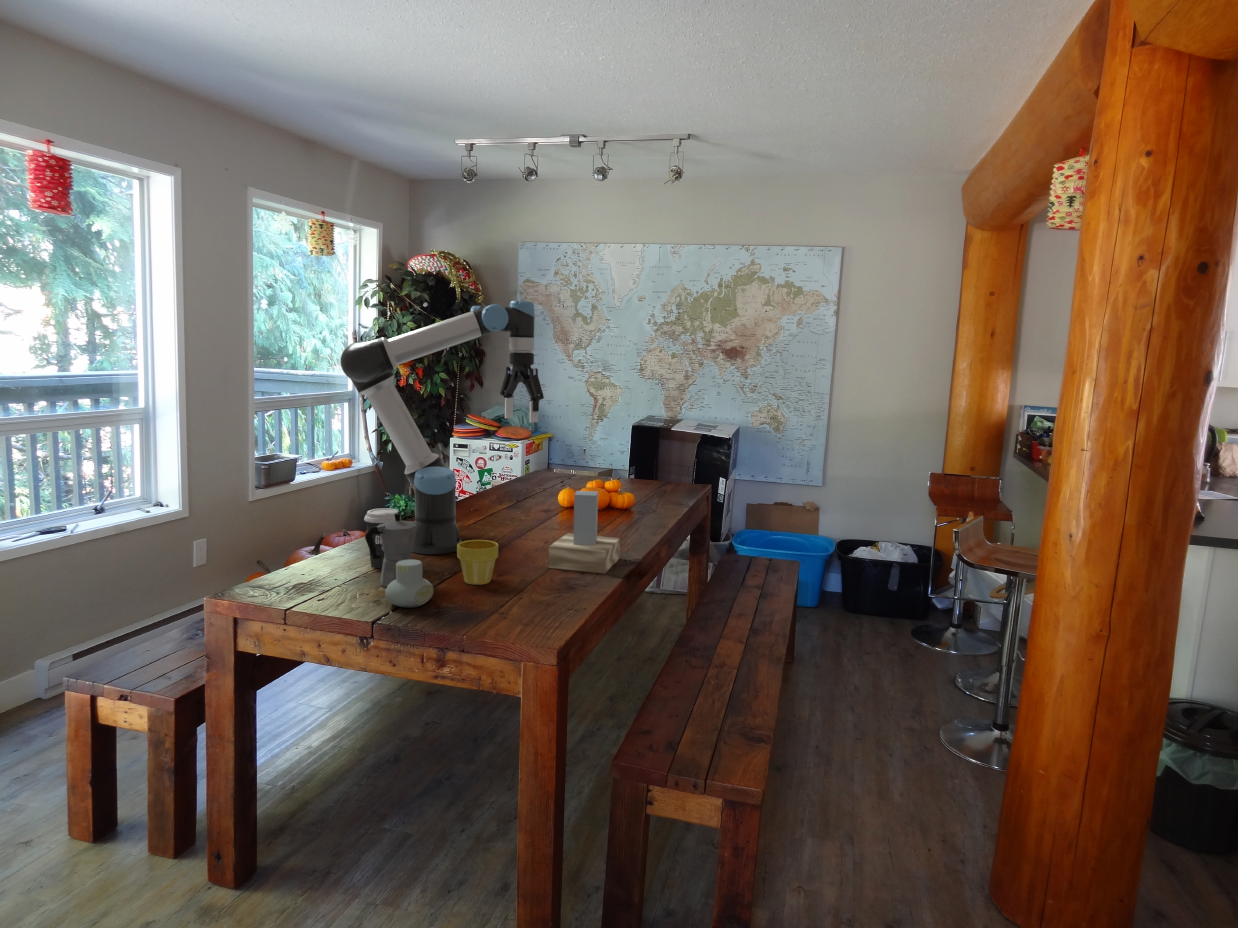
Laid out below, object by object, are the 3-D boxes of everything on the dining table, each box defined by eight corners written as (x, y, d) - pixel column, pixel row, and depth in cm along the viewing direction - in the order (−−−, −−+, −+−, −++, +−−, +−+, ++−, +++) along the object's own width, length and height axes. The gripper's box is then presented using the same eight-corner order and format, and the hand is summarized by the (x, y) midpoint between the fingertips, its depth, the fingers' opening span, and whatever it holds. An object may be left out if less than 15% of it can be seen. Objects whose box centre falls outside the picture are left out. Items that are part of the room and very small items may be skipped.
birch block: (604, 573, 212) (605, 551, 211) (548, 567, 216) (548, 546, 215) (619, 558, 228) (620, 538, 227) (566, 553, 232) (567, 533, 231)
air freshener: (409, 613, 177) (409, 570, 175) (379, 608, 180) (379, 565, 179) (438, 599, 187) (438, 559, 185) (409, 594, 190) (409, 554, 189)
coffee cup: (364, 571, 208) (363, 515, 206) (365, 561, 217) (364, 508, 215) (401, 569, 210) (401, 514, 208) (401, 559, 220) (401, 507, 217)
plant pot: (480, 572, 210) (480, 537, 208) (506, 581, 203) (506, 544, 202) (448, 581, 202) (448, 543, 200) (475, 589, 195) (475, 551, 194)
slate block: (594, 545, 218) (596, 495, 216) (573, 544, 218) (574, 494, 216) (596, 539, 224) (598, 491, 222) (575, 539, 224) (576, 490, 222)
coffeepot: (411, 574, 207) (410, 506, 204) (431, 582, 200) (431, 513, 198) (356, 585, 195) (355, 515, 193) (376, 594, 189) (375, 521, 186)
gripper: (555, 353, 237) (554, 423, 240) (509, 351, 255) (508, 416, 259) (535, 352, 232) (534, 424, 235) (489, 350, 251) (489, 417, 254)
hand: (521, 420), depth 247 cm, fingers open, 13 cm apart
